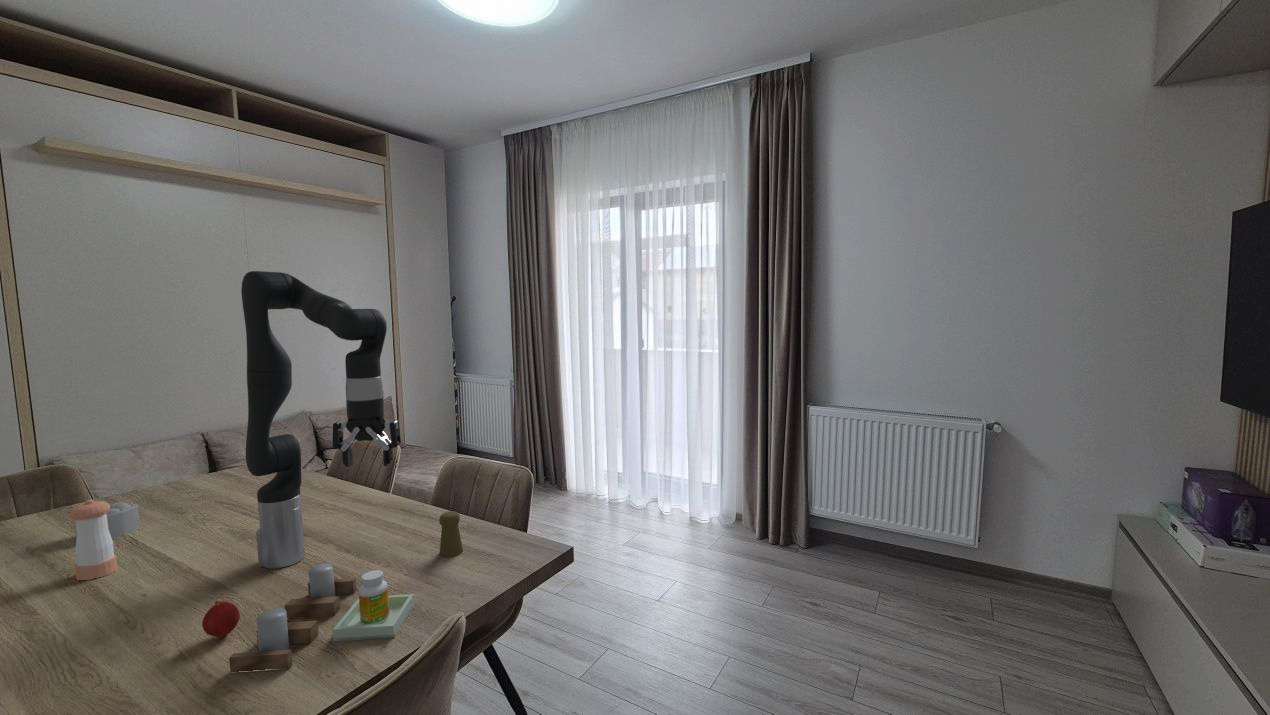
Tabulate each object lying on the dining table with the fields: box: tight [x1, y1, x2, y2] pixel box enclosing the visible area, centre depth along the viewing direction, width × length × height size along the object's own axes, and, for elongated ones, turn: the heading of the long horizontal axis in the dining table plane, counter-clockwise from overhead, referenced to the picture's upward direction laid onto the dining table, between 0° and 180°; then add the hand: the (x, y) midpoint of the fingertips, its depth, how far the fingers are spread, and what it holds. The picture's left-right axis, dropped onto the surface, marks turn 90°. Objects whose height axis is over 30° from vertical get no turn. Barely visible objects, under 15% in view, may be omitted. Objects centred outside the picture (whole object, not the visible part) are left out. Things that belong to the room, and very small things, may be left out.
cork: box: [438, 510, 464, 559], centre depth 139 cm, size 6×6×11 cm
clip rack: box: [228, 577, 357, 672], centre depth 107 cm, size 10×27×3 cm, turn 4°
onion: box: [201, 599, 241, 639], centre depth 104 cm, size 6×6×8 cm
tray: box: [332, 593, 415, 642], centre depth 108 cm, size 12×12×2 cm
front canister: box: [255, 607, 290, 652], centre depth 98 cm, size 5×5×8 cm
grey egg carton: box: [74, 501, 140, 539], centre depth 155 cm, size 10×13×9 cm
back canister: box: [308, 562, 336, 598], centre depth 115 cm, size 5×5×8 cm
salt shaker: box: [69, 499, 118, 581], centre depth 130 cm, size 7×7×19 cm
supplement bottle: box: [358, 569, 389, 625], centre depth 108 cm, size 5×5×10 cm
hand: (368, 465), depth 119 cm, fingers open, 8 cm apart
